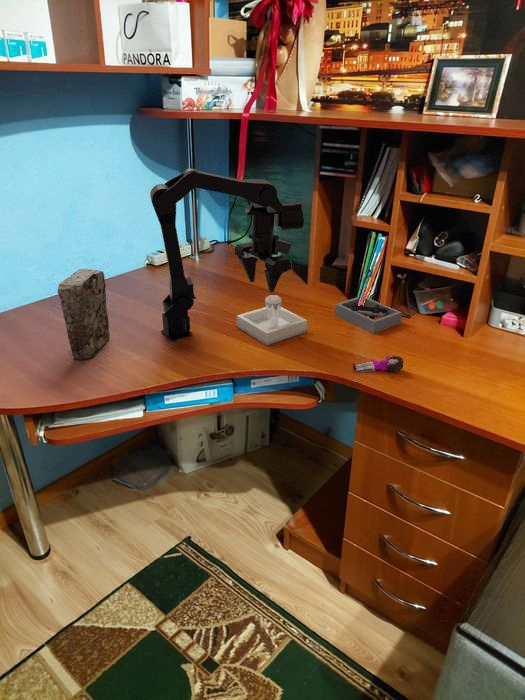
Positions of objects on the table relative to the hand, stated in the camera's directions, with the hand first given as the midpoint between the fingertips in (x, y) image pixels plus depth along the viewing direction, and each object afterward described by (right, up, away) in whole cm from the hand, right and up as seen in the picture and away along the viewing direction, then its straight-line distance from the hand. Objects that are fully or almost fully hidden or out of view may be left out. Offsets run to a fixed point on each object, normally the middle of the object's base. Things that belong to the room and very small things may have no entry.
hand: (261, 286), depth 146 cm
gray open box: (+31, -8, +10) cm, 34 cm away
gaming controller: (+31, -8, +10) cm, 33 cm away
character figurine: (+28, -23, -16) cm, 39 cm away
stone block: (-44, -17, -8) cm, 48 cm away
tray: (+3, -12, +3) cm, 12 cm away
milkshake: (+3, -11, +3) cm, 12 cm away
